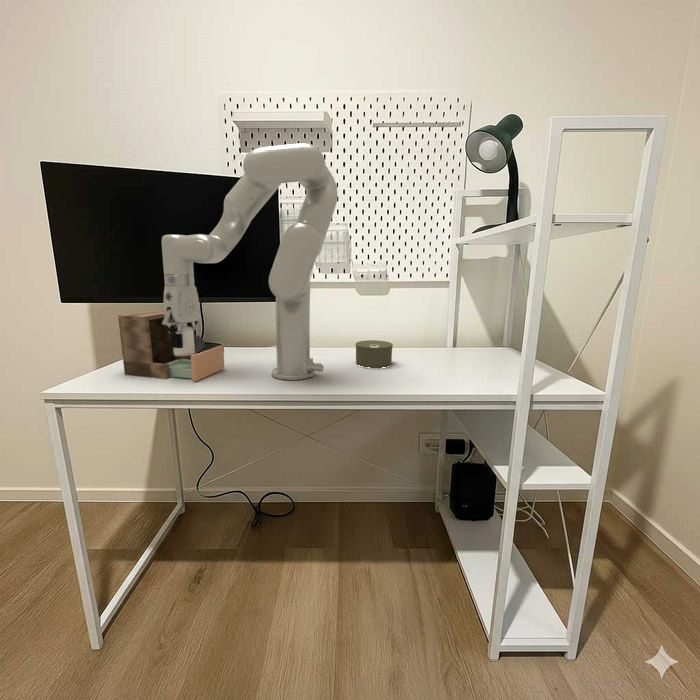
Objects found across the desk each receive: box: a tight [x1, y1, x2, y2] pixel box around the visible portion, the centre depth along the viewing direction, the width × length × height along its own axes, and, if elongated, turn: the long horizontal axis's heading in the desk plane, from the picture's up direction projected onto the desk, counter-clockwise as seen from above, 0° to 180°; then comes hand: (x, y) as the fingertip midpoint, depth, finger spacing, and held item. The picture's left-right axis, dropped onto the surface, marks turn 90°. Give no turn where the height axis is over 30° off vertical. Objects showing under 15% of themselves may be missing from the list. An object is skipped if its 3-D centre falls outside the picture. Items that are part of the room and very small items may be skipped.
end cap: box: [194, 334, 206, 354], centre depth 133 cm, size 10×7×7 cm
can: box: [355, 340, 394, 368], centre depth 126 cm, size 12×12×7 cm
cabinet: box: [117, 309, 191, 380], centre depth 114 cm, size 14×13×17 cm
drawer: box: [166, 345, 226, 382], centre depth 112 cm, size 14×14×7 cm
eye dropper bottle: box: [173, 323, 195, 356], centre depth 111 cm, size 4×6×12 cm
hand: (184, 345), depth 112 cm, fingers closed on eye dropper bottle, 5 cm apart
